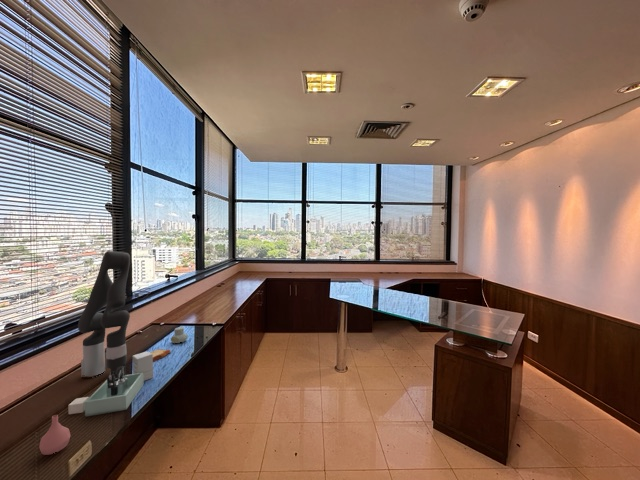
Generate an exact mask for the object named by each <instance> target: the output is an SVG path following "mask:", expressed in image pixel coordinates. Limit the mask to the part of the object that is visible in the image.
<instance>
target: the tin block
mask: <svg viewBox="0 0 640 480" xmlns="http://www.w3.org/2000/svg"><path fill="white" fill-rule="evenodd" d="M112 385H113V384H112ZM106 388H107V397H113V396H111V388H109V389H108V385H107V386H106ZM127 388H128V381H127V378H122V379H119V381H118V384H117V395H115V396H120V395H123V394H124V392H125V391H126V390H127Z"/></svg>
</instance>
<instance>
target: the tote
mask: <svg viewBox="0 0 640 480" xmlns="http://www.w3.org/2000/svg"><path fill="white" fill-rule="evenodd" d="M124 378H127V381H128V388H127V390H126V391H125V392H124V394H123V395H120V396H113V397H107V388H106V386H107V385H108V384H107V379H106V380H105V381H104V382H103V383H102V384H101V385H100V386H99V387H98V389H96V391H94V392H93V394H91V395H90V396H89V399H88V400H87V401H86V402H85V410H84V417H85V418H86V417H91V416H97V415H103V414H109V413H113V412H120V411H126V410H127V409H128V408H129V406H130V405H131V403H132V402H133V400H134V399H135V397H136V396H137V395H138V393H139V392H140V390H141V388H142V387H143V386H144V381H143V373H137V374H133V373H131V374H126V375H125V376H124ZM115 379H117V378H115Z"/></svg>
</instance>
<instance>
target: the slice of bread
mask: <svg viewBox="0 0 640 480" xmlns="http://www.w3.org/2000/svg"><path fill="white" fill-rule="evenodd" d="M149 352H150V353H151V354H153V363H154V362H156V361H159V360H160V358H161V359H162V358H164V357H166V356H167V355H169V354H170V353H171V352H172V351H171V350H170V349H160V348H157V349H155V350H153V351H149Z"/></svg>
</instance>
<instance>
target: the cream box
mask: <svg viewBox="0 0 640 480" xmlns="http://www.w3.org/2000/svg"><path fill="white" fill-rule="evenodd" d="M89 398H90V396H84V397H77V398H75V399H74V400H73V401H71V403H69V404H68V406H67V407H68V415H74V414H80V413H84V412H85V402H86V401H87V400H88V399H89Z"/></svg>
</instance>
